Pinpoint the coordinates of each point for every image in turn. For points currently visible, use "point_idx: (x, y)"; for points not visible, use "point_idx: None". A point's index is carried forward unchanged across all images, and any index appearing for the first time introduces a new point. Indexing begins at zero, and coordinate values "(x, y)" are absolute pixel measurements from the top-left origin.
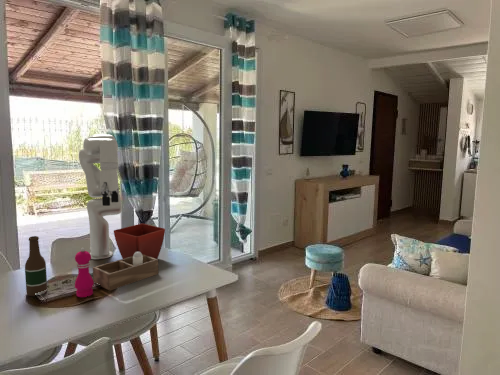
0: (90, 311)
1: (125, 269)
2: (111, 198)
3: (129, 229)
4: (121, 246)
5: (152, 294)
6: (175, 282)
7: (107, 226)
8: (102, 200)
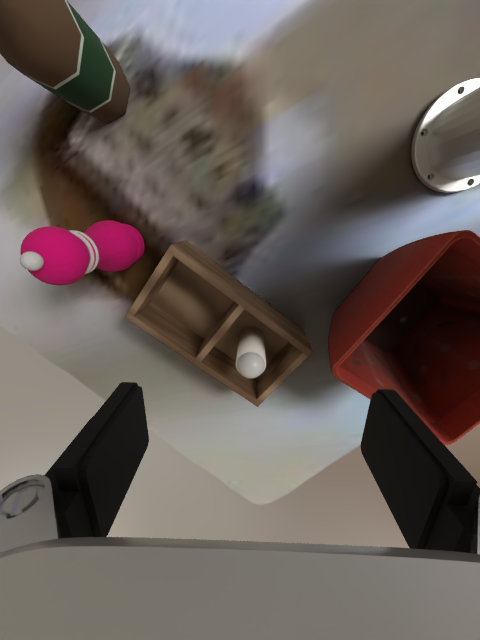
0: (53, 295)
1: (169, 346)
2: (397, 423)
3: None
4: (389, 267)
5: (155, 388)
6: (221, 417)
7: None
8: (90, 421)
